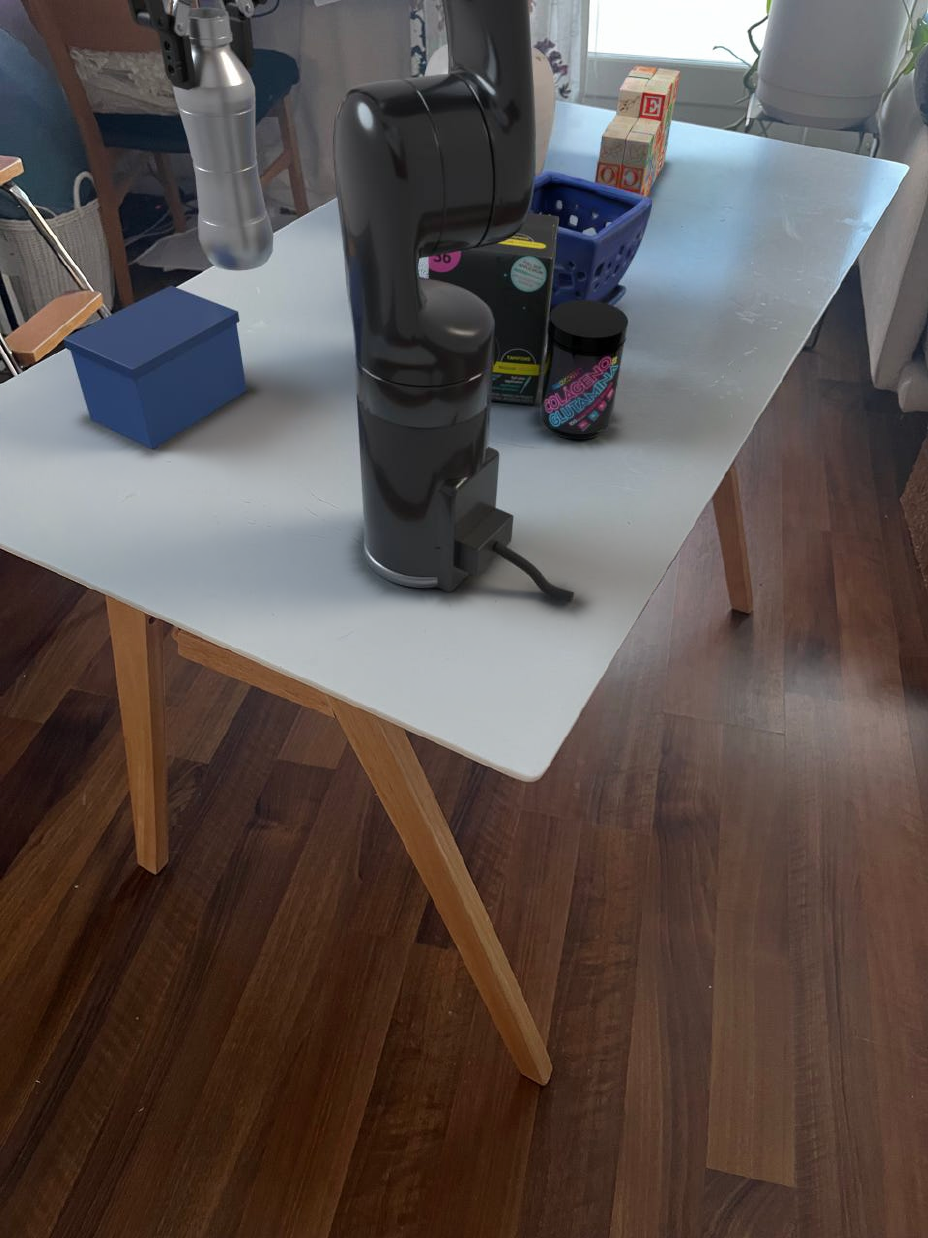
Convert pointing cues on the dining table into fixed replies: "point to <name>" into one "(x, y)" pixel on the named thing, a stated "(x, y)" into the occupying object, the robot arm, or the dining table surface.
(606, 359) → the supplement container
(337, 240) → the dining table surface
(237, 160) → the silver water bottle
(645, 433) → the dining table surface
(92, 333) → the blue box
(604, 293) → the flower pot
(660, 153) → the stack of blocks
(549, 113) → the vase
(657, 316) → the dining table surface
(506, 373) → the tampon box
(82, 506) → the dining table surface
